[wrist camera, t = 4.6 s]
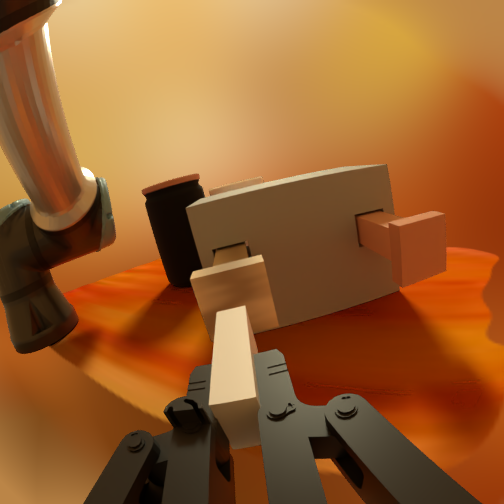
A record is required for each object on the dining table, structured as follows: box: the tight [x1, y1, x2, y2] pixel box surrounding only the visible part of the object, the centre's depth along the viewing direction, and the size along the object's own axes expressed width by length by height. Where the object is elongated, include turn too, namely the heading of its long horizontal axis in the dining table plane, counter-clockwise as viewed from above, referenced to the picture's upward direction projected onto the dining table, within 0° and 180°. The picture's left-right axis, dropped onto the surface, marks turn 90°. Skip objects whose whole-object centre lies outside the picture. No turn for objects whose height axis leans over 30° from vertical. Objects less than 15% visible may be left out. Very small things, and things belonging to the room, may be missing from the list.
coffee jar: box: [142, 174, 205, 287], centre depth 49 cm, size 11×11×18 cm
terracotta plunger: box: [355, 210, 446, 288], centre depth 23 cm, size 5×12×5 cm, turn 5°
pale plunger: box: [190, 241, 279, 342], centre depth 23 cm, size 5×12×5 cm, turn 5°
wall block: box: [186, 164, 400, 334], centre depth 32 cm, size 20×12×14 cm, turn 94°
